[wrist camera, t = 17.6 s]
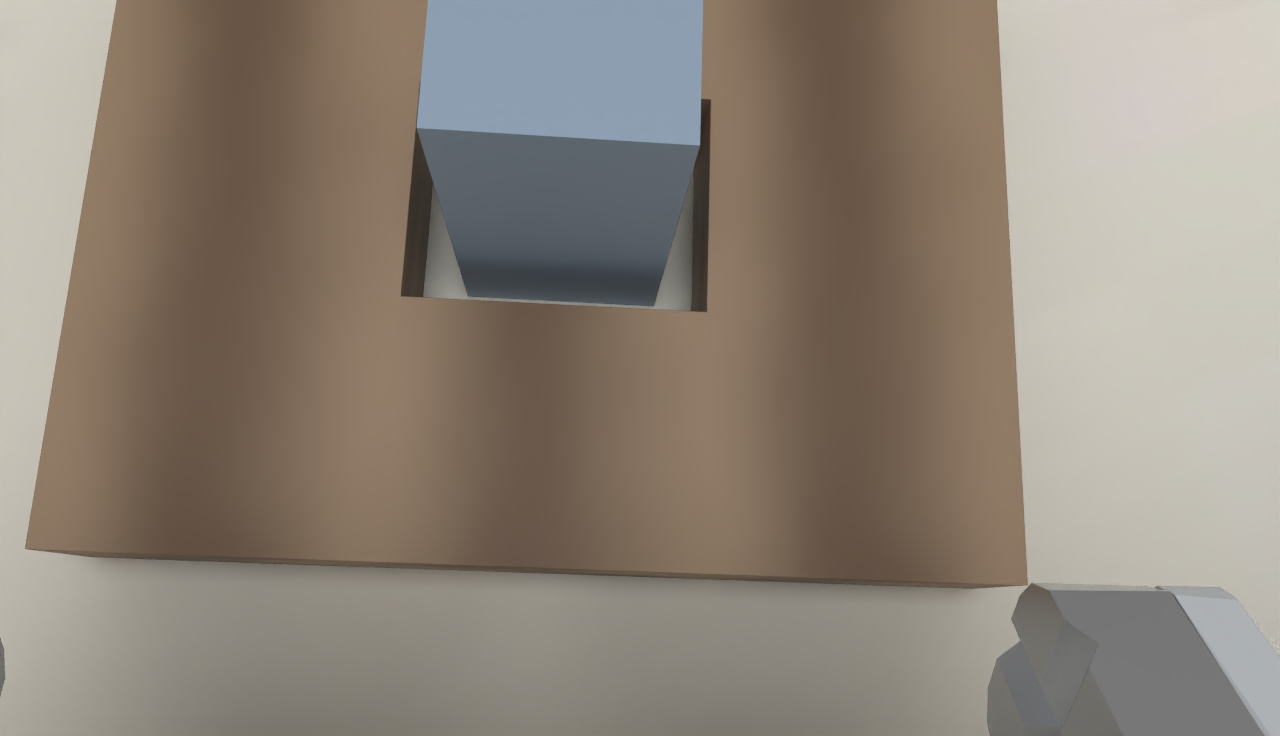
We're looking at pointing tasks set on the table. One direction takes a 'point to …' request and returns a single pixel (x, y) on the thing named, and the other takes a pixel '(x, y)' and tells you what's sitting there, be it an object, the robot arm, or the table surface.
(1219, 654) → the robot arm
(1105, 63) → the table surface
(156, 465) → the walnut block
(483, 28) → the grey post
